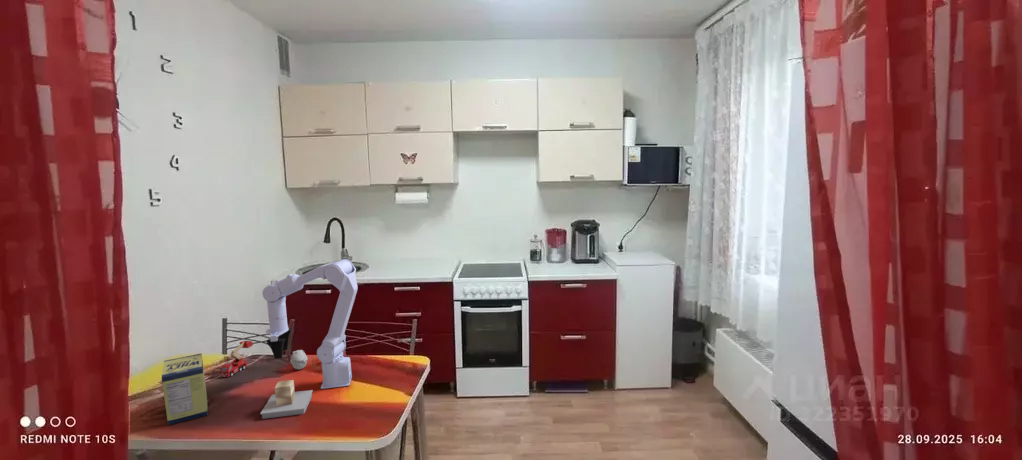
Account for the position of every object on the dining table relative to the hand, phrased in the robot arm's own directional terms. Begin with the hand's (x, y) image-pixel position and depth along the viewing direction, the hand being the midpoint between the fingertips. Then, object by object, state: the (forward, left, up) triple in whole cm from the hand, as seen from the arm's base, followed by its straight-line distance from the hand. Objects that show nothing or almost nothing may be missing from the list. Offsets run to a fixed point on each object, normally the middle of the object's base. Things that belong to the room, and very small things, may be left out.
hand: (281, 354), depth 169 cm
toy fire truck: (+20, -16, -11) cm, 28 cm away
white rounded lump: (-3, -11, -11) cm, 16 cm away
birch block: (-6, +20, -8) cm, 23 cm away
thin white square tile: (-6, +20, -11) cm, 24 cm away
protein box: (+25, +14, -11) cm, 31 cm away
